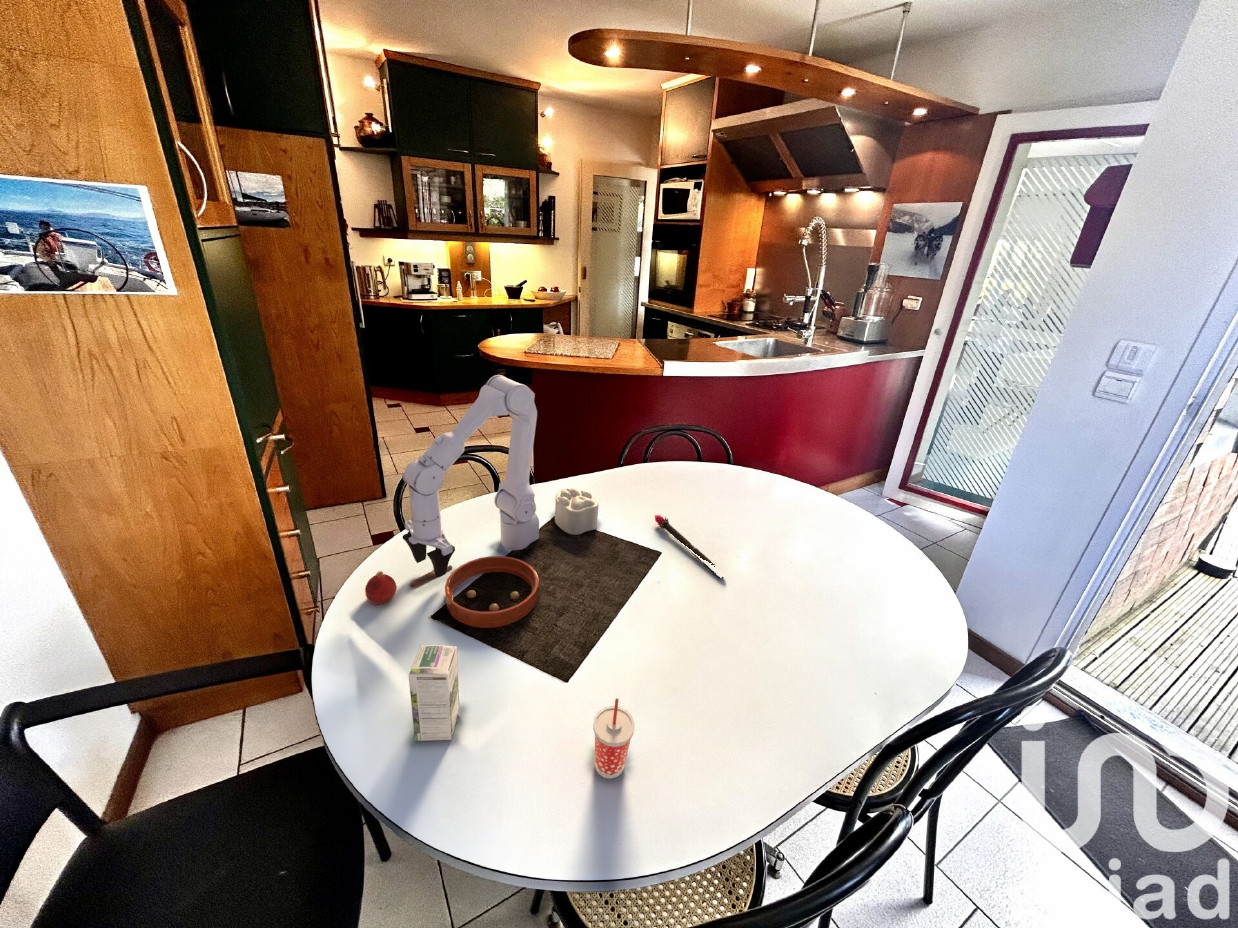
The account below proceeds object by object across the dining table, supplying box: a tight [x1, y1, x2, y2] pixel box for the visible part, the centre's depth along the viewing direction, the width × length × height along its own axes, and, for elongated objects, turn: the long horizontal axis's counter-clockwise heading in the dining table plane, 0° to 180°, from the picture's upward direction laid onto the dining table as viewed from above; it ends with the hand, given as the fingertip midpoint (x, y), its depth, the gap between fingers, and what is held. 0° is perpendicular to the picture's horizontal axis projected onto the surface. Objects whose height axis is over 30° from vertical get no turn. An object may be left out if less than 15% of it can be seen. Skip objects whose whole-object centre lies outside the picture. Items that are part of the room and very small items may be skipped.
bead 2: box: [488, 602, 500, 612], centre depth 102 cm, size 2×2×2 cm
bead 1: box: [466, 589, 477, 599], centre depth 106 cm, size 2×2×2 cm
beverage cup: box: [592, 697, 636, 780], centre depth 73 cm, size 6×6×14 cm
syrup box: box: [408, 644, 460, 742], centre depth 76 cm, size 6×6×14 cm
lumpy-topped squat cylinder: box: [554, 487, 599, 536], centre depth 138 cm, size 10×13×9 cm
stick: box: [409, 563, 453, 589], centre depth 110 cm, size 10×2×2 cm, turn 143°
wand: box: [654, 514, 716, 568], centre depth 131 cm, size 4×4×30 cm
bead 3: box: [509, 590, 520, 600], centre depth 106 cm, size 2×2×2 cm
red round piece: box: [364, 570, 398, 605], centre depth 102 cm, size 6×6×8 cm
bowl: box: [444, 555, 539, 629], centre depth 106 cm, size 19×19×5 cm
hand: (430, 567), depth 109 cm, fingers open, 7 cm apart
